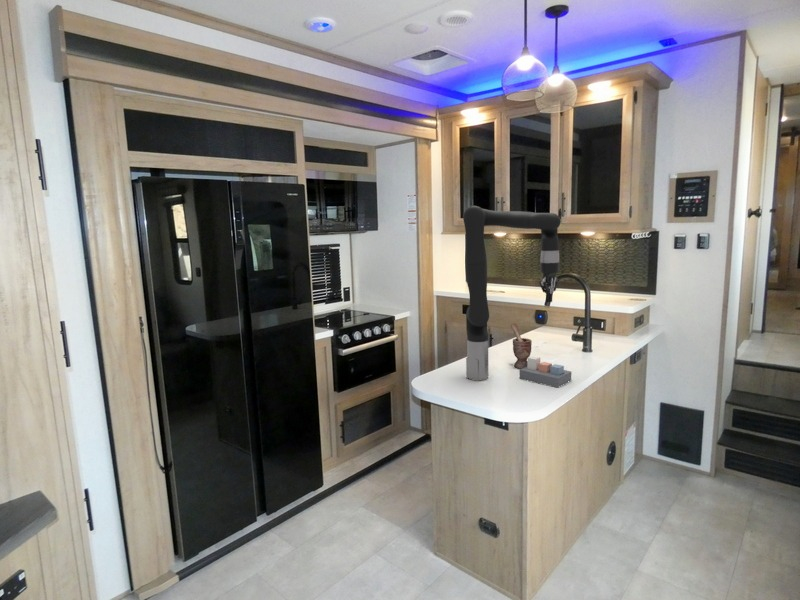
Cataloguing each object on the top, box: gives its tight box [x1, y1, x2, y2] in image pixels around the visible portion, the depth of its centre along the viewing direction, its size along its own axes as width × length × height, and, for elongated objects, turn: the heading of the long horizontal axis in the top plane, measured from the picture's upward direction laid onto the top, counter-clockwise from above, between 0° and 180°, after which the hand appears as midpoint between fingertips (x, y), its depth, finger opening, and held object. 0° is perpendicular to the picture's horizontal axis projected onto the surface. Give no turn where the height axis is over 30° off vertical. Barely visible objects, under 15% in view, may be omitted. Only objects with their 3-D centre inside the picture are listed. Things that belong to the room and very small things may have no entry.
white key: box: [527, 355, 541, 370], centre depth 210 cm, size 4×4×5 cm
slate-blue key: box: [550, 363, 565, 376], centre depth 203 cm, size 4×4×5 cm
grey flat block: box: [519, 367, 572, 388], centre depth 207 cm, size 12×18×4 cm, turn 45°
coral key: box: [539, 361, 553, 373], centre depth 207 cm, size 4×4×5 cm
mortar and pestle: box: [510, 322, 533, 369], centre depth 226 cm, size 12×9×20 cm
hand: (549, 301), depth 203 cm, fingers closed
